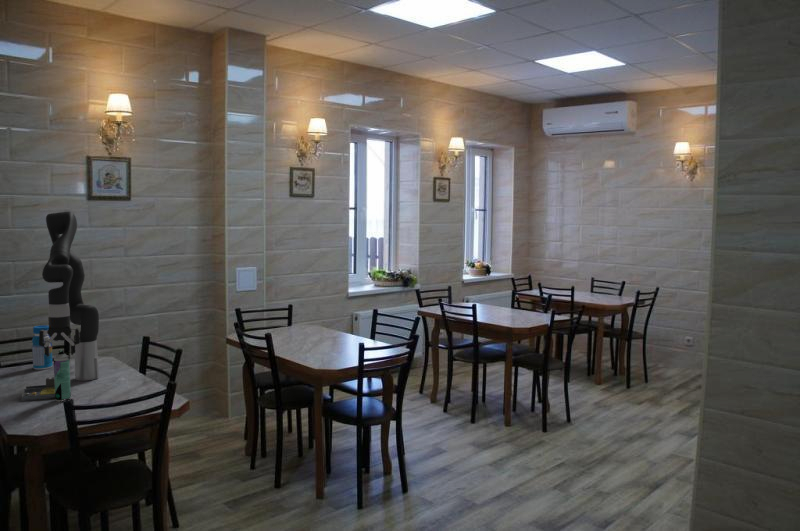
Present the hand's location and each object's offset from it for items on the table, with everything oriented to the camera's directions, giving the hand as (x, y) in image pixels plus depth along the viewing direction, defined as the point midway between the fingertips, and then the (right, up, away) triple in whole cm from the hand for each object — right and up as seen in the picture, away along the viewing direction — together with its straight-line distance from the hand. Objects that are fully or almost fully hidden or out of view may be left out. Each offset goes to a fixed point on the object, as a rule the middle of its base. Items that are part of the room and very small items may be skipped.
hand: (60, 355), depth 252 cm
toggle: (-10, -15, +11) cm, 21 cm away
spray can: (0, -18, +2) cm, 18 cm away
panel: (-10, -17, +7) cm, 21 cm away
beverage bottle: (-35, -13, +51) cm, 63 cm away
